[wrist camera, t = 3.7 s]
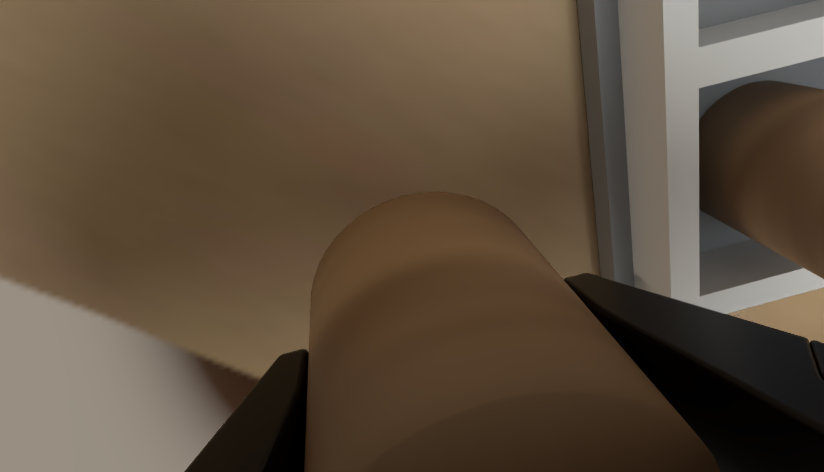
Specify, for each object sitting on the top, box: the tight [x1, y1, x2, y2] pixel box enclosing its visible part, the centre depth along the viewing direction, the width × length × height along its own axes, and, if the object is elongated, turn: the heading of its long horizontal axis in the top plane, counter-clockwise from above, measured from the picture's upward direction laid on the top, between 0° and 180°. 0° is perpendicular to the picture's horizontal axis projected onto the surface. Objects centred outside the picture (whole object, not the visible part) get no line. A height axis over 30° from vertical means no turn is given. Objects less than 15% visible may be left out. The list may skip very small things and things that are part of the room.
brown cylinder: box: [304, 192, 721, 472], centre depth 7 cm, size 4×4×6 cm
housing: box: [577, 0, 824, 314], centre depth 14 cm, size 16×8×3 cm, turn 13°
